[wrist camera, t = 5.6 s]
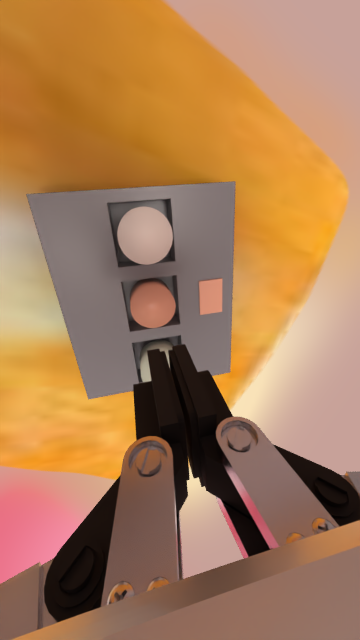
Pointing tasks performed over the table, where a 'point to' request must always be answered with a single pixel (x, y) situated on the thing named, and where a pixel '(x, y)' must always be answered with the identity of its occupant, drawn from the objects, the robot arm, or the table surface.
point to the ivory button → (145, 235)
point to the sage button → (143, 357)
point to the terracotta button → (151, 303)
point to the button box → (139, 276)
